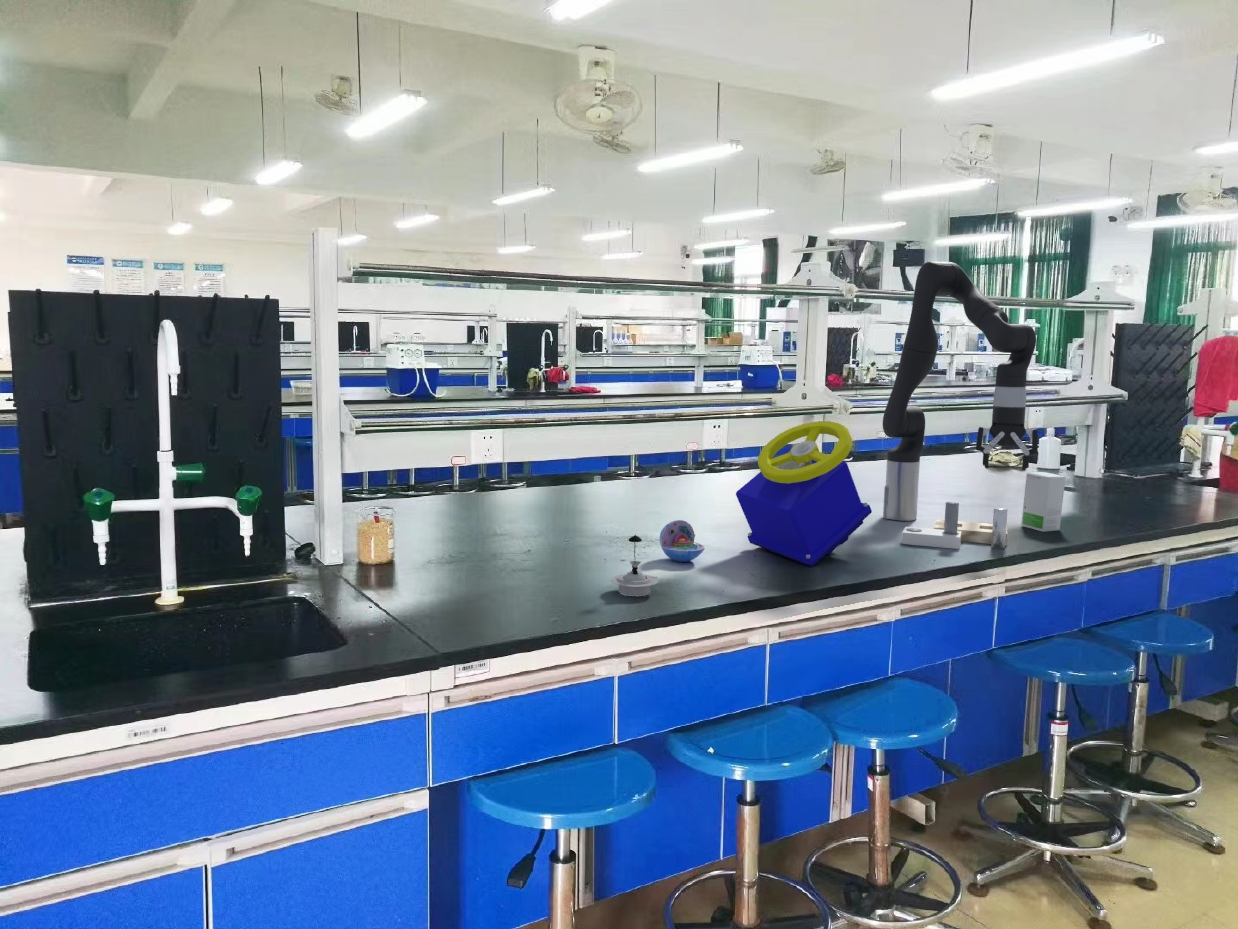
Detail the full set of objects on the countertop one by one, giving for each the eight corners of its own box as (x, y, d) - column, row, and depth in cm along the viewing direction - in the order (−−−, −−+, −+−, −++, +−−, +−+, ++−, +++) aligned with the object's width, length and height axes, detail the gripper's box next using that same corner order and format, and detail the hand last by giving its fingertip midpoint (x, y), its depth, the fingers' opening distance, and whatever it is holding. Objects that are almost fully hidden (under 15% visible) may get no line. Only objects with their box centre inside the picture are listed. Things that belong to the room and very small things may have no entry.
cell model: (679, 569, 207) (680, 528, 205) (650, 558, 217) (651, 518, 215) (714, 563, 212) (715, 523, 210) (684, 553, 222) (685, 514, 220)
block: (901, 543, 234) (904, 502, 232) (904, 537, 241) (907, 497, 240) (959, 549, 228) (962, 506, 227) (960, 542, 236) (963, 501, 234)
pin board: (933, 538, 240) (933, 527, 240) (936, 529, 251) (936, 519, 251) (1006, 545, 233) (1007, 533, 233) (1006, 535, 244) (1007, 525, 244)
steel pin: (991, 548, 230) (993, 509, 228) (991, 545, 232) (993, 507, 231) (1004, 549, 228) (1007, 510, 227) (1004, 546, 231) (1007, 508, 230)
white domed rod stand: (662, 539, 181) (655, 529, 191) (613, 540, 180) (608, 530, 190) (662, 599, 183) (655, 585, 193) (612, 600, 182) (608, 586, 192)
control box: (824, 505, 239) (788, 411, 226) (904, 529, 217) (869, 427, 204) (757, 563, 230) (716, 470, 217) (834, 595, 208) (793, 493, 195)
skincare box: (1020, 526, 257) (1024, 472, 255) (1037, 524, 259) (1041, 471, 257) (1044, 532, 249) (1048, 476, 247) (1062, 530, 252) (1066, 475, 250)
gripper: (978, 404, 225) (974, 469, 227) (1041, 406, 219) (1036, 472, 222) (978, 402, 232) (975, 465, 234) (1039, 404, 226) (1035, 468, 228)
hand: (1005, 468), depth 228 cm, fingers open, 8 cm apart
